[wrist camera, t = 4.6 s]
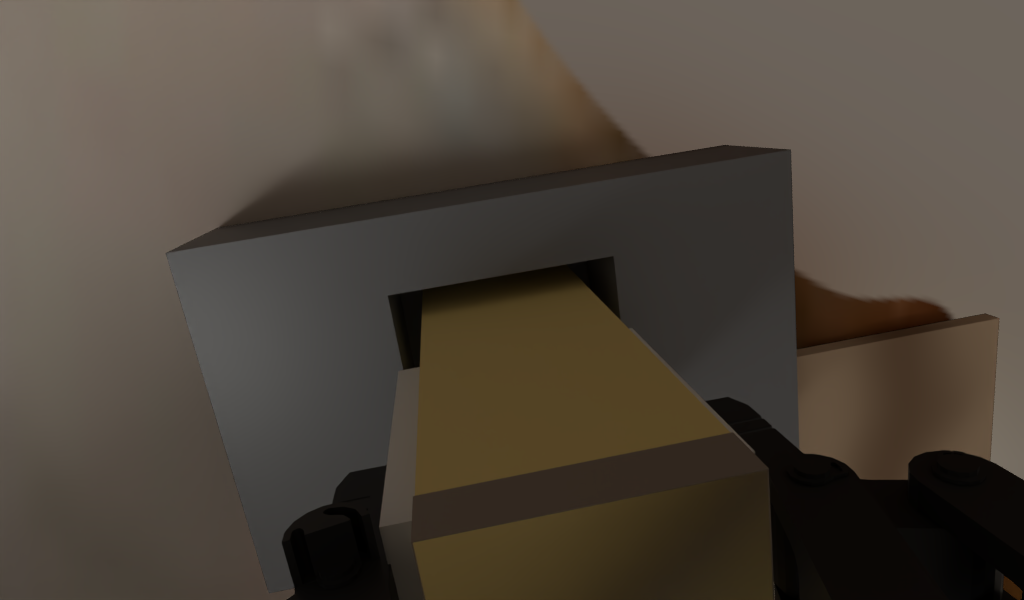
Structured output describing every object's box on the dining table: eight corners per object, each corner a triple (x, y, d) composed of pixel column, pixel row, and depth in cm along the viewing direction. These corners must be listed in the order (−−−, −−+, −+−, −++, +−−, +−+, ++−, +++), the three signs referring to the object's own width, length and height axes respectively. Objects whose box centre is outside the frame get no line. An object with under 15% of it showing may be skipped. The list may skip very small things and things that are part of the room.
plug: (447, 416, 22) (472, 817, 9) (422, 285, 20) (410, 541, 8) (580, 391, 22) (781, 742, 9) (563, 261, 21) (768, 468, 8)
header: (296, 512, 22) (268, 593, 18) (217, 228, 20) (165, 253, 16) (740, 424, 24) (800, 482, 20) (724, 145, 21) (791, 149, 17)
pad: (760, 570, 25) (768, 581, 25) (749, 358, 23) (758, 364, 22) (973, 524, 26) (985, 533, 26) (985, 313, 24) (999, 318, 23)
